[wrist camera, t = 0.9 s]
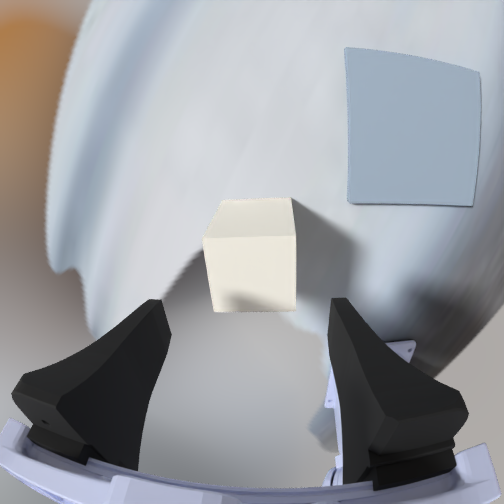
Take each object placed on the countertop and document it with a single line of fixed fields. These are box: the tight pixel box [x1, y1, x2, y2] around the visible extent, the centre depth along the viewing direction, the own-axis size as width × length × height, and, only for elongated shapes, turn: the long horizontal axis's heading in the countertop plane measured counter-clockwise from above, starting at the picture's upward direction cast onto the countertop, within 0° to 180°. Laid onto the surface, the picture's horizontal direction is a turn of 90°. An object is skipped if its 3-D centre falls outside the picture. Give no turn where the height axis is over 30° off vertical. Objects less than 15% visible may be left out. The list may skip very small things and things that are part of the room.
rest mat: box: [344, 47, 481, 206], centre depth 16 cm, size 10×10×1 cm
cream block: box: [202, 197, 296, 312], centre depth 18 cm, size 4×4×6 cm
